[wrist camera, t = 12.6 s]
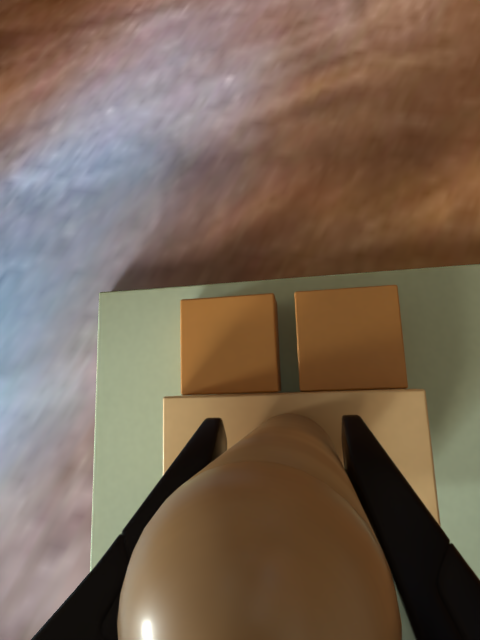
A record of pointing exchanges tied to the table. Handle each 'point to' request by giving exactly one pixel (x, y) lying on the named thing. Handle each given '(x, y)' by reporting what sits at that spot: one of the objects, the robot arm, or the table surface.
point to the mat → (287, 385)
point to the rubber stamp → (274, 522)
